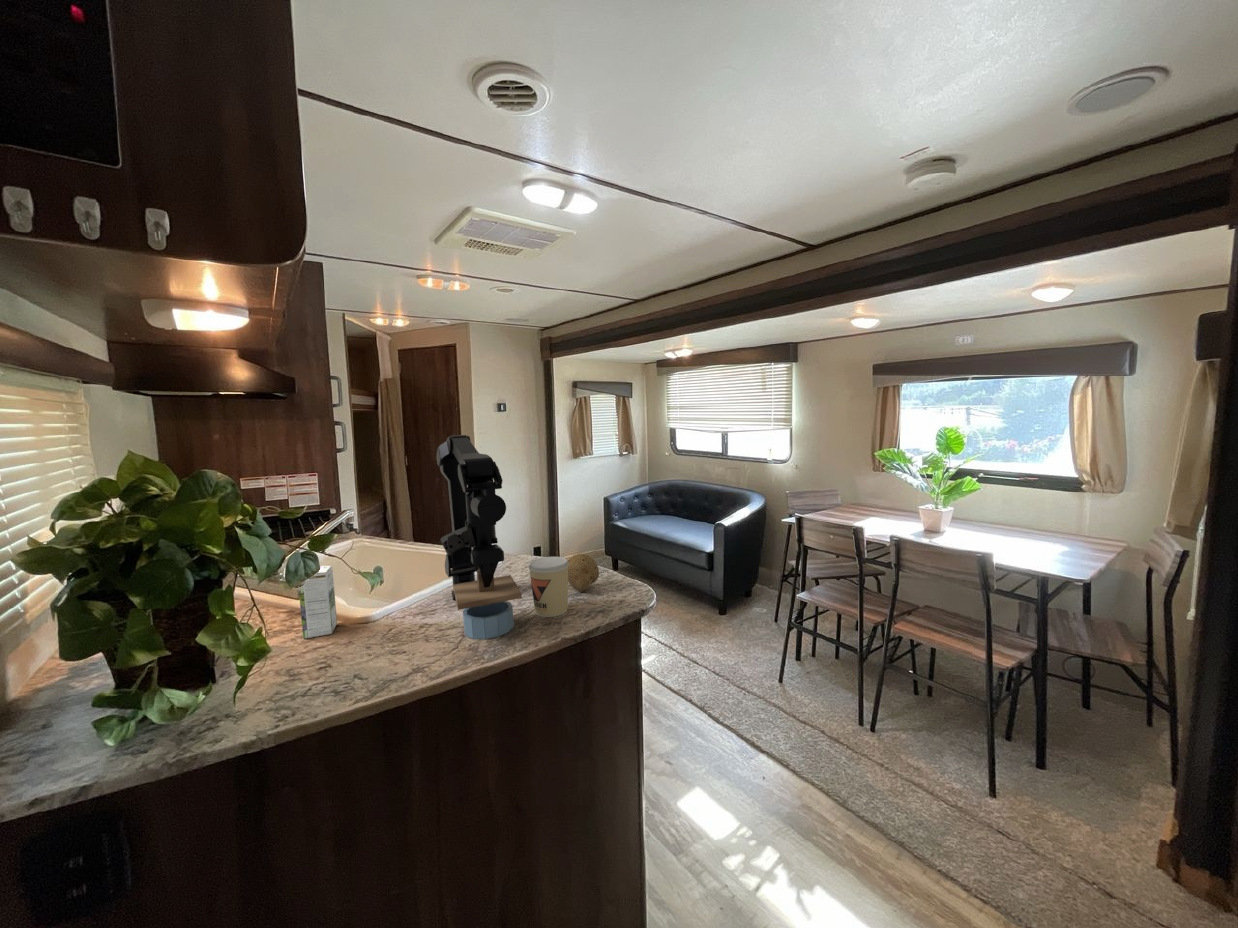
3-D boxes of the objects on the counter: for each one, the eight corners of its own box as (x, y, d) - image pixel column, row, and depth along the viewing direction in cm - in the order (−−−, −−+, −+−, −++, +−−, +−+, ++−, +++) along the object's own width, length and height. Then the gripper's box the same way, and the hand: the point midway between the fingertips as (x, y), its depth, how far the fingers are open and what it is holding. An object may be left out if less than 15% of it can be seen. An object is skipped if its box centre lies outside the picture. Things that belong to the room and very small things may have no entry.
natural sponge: (585, 582, 134) (583, 547, 133) (607, 589, 127) (605, 553, 126) (559, 591, 128) (557, 554, 127) (580, 599, 121) (578, 561, 120)
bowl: (462, 624, 109) (461, 605, 109) (508, 615, 113) (507, 596, 113) (467, 643, 100) (465, 622, 99) (517, 632, 104) (515, 612, 103)
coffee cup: (524, 611, 115) (521, 562, 114) (556, 600, 121) (553, 553, 120) (545, 622, 108) (542, 570, 107) (578, 609, 114) (576, 561, 113)
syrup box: (309, 629, 110) (302, 568, 109) (338, 624, 112) (332, 564, 111) (302, 639, 105) (295, 575, 104) (333, 634, 107) (327, 571, 106)
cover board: (453, 589, 109) (451, 567, 109) (510, 579, 114) (509, 558, 114) (457, 609, 97) (456, 585, 97) (521, 598, 102) (520, 574, 102)
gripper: (439, 512, 110) (444, 578, 111) (443, 528, 92) (449, 606, 94) (489, 506, 114) (493, 570, 115) (502, 521, 97) (507, 595, 98)
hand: (485, 584), depth 106 cm, fingers closed on cover board, 3 cm apart
